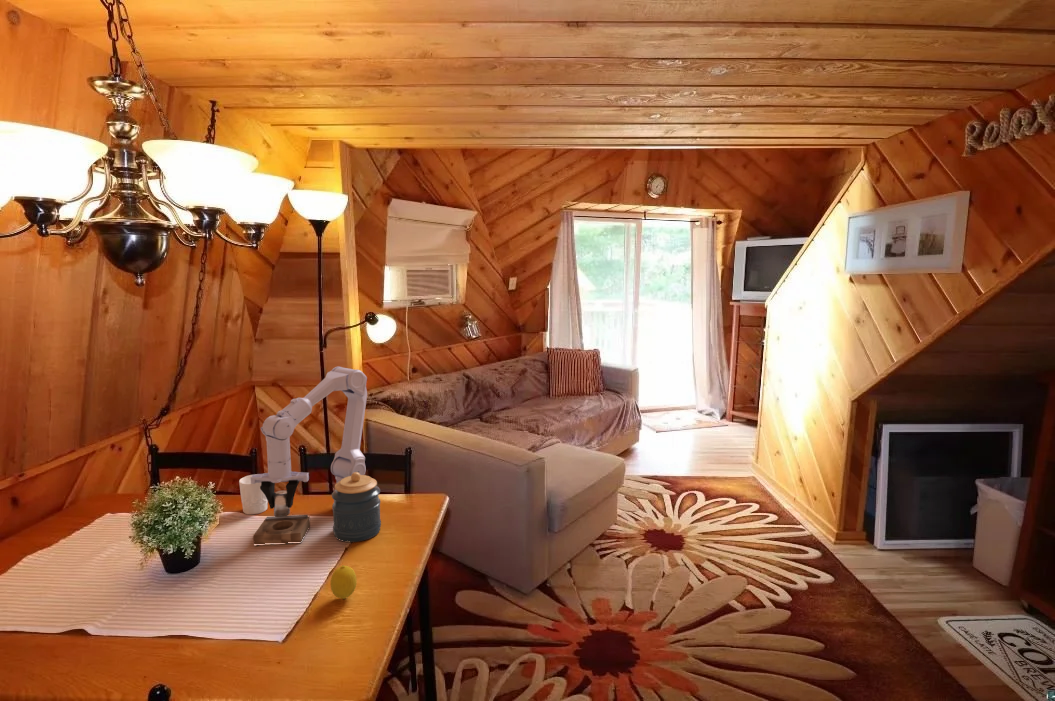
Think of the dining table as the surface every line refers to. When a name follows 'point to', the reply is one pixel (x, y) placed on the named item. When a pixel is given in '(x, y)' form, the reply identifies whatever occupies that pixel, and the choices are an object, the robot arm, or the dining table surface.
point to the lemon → (343, 582)
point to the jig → (282, 529)
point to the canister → (356, 508)
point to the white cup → (252, 496)
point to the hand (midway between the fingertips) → (281, 506)
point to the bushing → (281, 504)
